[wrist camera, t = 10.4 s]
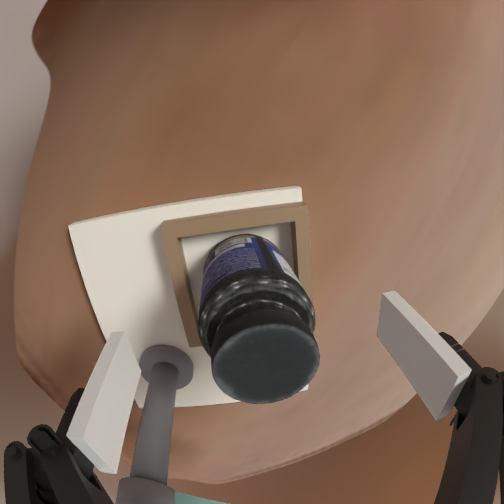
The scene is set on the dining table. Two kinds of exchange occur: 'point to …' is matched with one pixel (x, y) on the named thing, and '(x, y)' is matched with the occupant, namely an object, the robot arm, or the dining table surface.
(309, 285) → the base board
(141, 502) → the keeper arm
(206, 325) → the pill bottle
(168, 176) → the dining table surface
